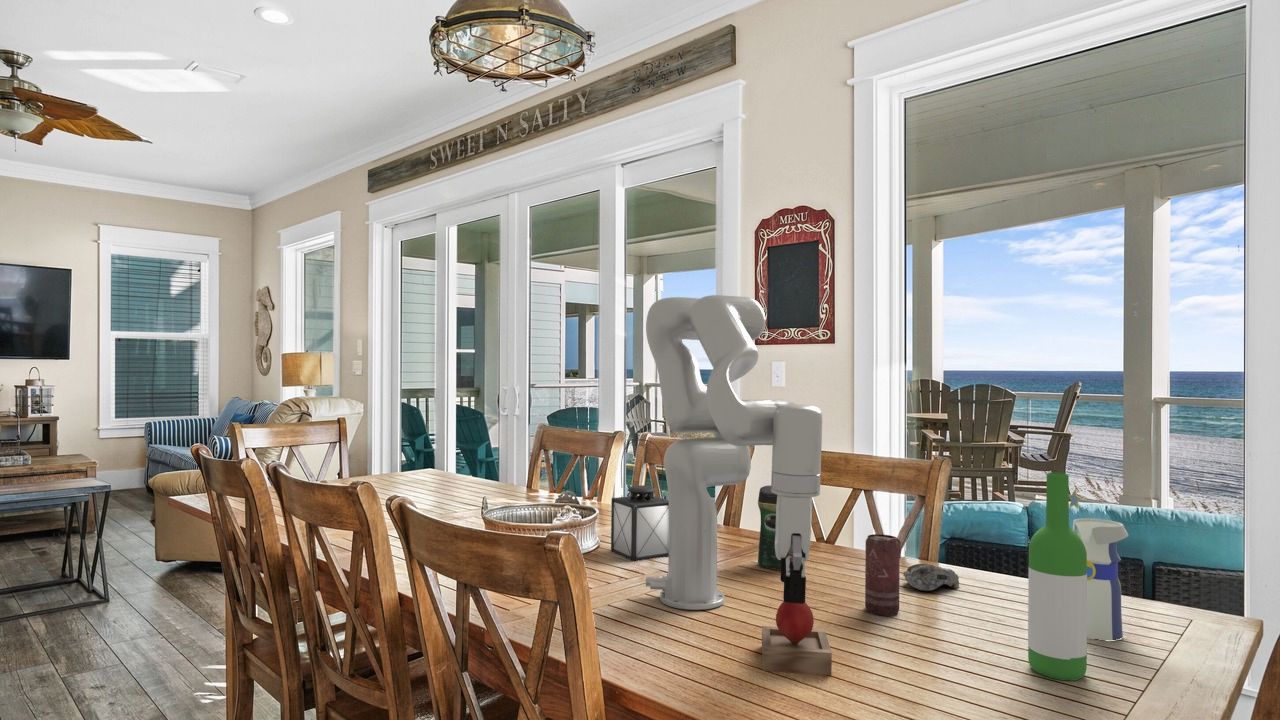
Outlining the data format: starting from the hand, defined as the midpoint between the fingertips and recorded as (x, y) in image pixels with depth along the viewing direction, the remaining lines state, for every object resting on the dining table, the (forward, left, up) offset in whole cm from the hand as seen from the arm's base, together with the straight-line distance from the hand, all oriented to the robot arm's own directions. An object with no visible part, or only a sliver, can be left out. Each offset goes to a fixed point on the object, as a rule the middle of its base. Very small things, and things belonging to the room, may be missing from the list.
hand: (792, 591), depth 117 cm
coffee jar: (0, +55, -11) cm, 56 cm away
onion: (0, -1, -8) cm, 8 cm away
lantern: (-33, +61, -11) cm, 70 cm away
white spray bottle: (+53, +20, -11) cm, 58 cm away
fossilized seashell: (+31, +44, -11) cm, 55 cm away
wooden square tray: (0, -1, -10) cm, 10 cm away
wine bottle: (+39, +1, -11) cm, 41 cm away
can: (+18, +26, -11) cm, 34 cm away
